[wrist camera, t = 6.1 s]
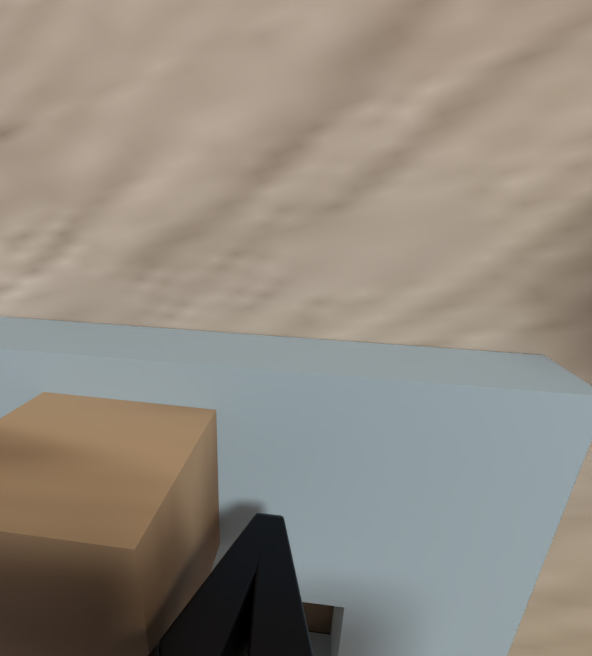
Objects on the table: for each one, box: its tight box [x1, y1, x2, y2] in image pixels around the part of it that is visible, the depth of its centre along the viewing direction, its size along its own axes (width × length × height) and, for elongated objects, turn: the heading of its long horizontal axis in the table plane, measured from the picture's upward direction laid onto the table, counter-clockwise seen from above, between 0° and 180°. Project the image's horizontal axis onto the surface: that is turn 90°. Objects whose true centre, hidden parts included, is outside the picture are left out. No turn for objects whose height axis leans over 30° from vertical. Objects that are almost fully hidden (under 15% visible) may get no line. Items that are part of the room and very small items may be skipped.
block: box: [0, 392, 220, 656], centre depth 8 cm, size 5×5×4 cm
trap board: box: [0, 317, 592, 656], centre depth 12 cm, size 15×27×3 cm, turn 87°
